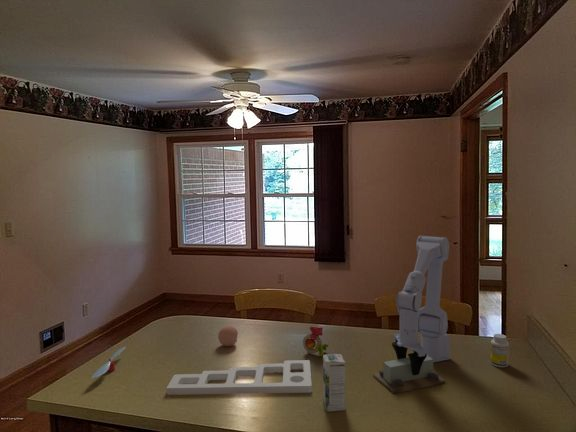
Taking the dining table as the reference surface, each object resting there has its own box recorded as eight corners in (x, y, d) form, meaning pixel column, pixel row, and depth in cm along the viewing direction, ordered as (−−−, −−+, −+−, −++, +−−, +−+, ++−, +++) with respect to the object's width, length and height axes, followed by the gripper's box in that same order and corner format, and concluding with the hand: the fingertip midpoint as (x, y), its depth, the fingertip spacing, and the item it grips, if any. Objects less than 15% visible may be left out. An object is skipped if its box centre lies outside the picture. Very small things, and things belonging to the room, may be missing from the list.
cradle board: (422, 366, 145) (422, 360, 144) (445, 382, 133) (445, 375, 133) (373, 376, 139) (373, 369, 139) (393, 393, 128) (393, 386, 127)
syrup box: (322, 401, 124) (321, 354, 123) (342, 400, 125) (341, 353, 123) (325, 412, 118) (325, 362, 117) (346, 410, 119) (345, 361, 118)
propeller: (131, 355, 160) (130, 344, 160) (98, 388, 136) (97, 376, 135) (120, 355, 161) (120, 344, 160) (85, 388, 136) (84, 375, 135)
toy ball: (242, 344, 168) (241, 325, 168) (229, 351, 162) (229, 331, 161) (227, 340, 173) (226, 321, 172) (214, 347, 166) (213, 327, 165)
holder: (166, 396, 130) (166, 388, 130) (182, 369, 148) (181, 362, 148) (311, 394, 130) (311, 385, 129) (309, 367, 147) (309, 360, 147)
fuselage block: (425, 370, 140) (425, 354, 140) (433, 375, 137) (433, 359, 136) (383, 378, 135) (383, 362, 135) (390, 384, 132) (390, 367, 131)
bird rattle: (307, 362, 155) (329, 355, 152) (295, 335, 155) (316, 327, 153) (310, 355, 161) (332, 348, 158) (299, 329, 161) (320, 321, 159)
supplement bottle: (496, 359, 149) (496, 331, 148) (511, 365, 144) (512, 336, 143) (487, 363, 146) (487, 335, 145) (502, 369, 141) (503, 340, 140)
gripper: (385, 322, 140) (385, 361, 141) (411, 338, 126) (411, 381, 128) (404, 320, 142) (404, 358, 144) (431, 335, 129) (430, 377, 130)
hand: (408, 369), depth 136 cm, fingers open, 7 cm apart
